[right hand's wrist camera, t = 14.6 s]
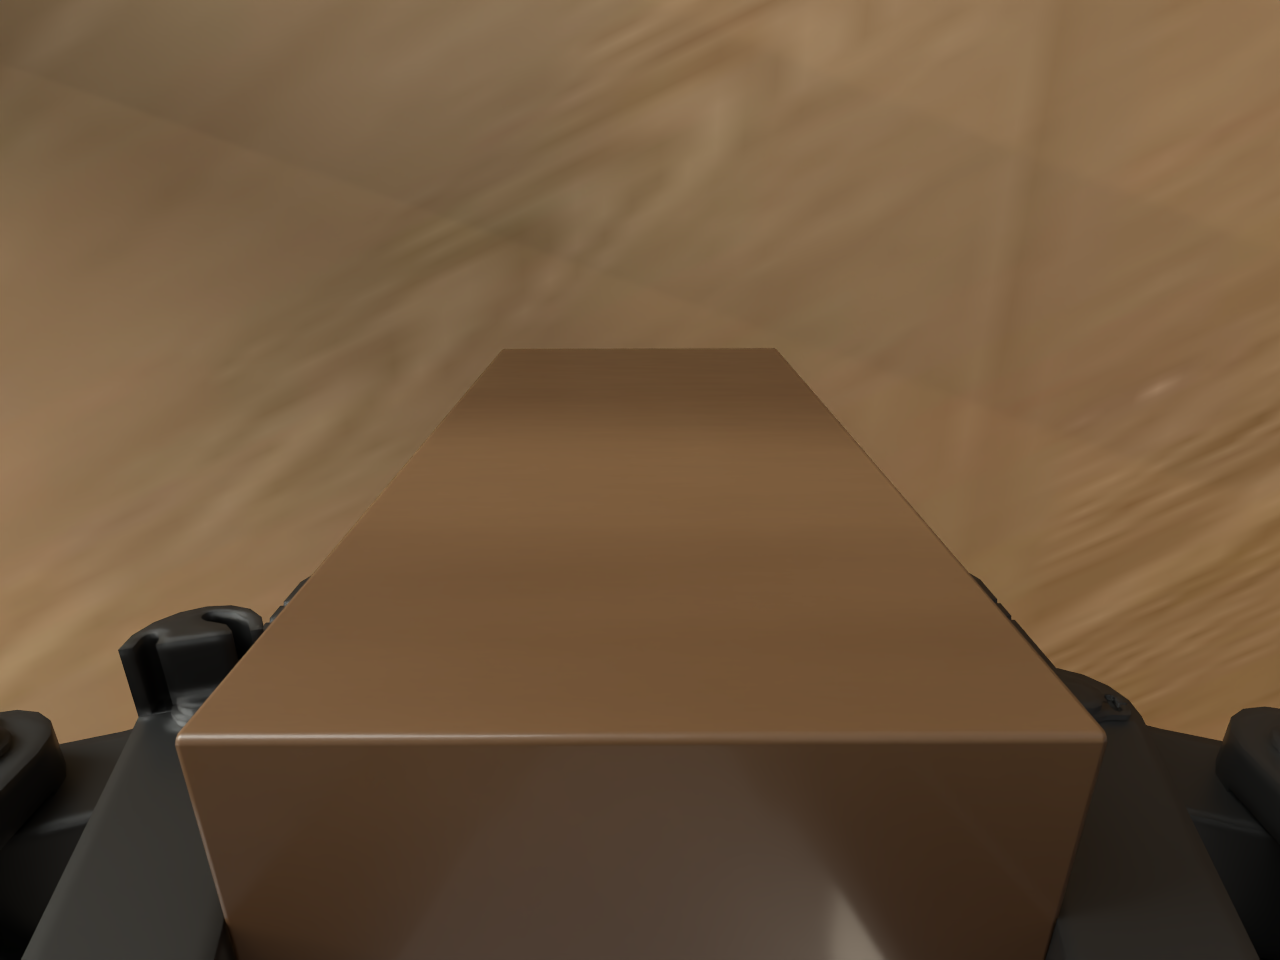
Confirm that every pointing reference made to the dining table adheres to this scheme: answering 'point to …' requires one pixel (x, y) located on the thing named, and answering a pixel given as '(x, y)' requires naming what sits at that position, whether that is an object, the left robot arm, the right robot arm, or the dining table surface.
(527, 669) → the box
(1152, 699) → the dining table surface
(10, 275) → the dining table surface
